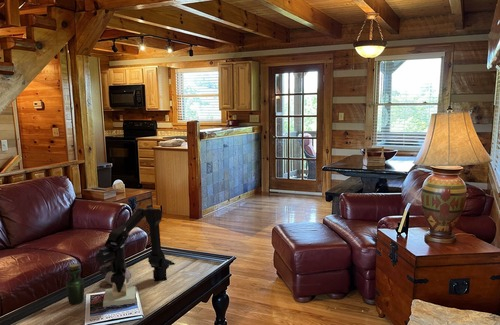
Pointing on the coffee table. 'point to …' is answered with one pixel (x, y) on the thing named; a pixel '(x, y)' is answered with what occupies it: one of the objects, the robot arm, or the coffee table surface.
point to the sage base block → (119, 300)
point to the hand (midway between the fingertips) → (119, 288)
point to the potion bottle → (75, 285)
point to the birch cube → (123, 290)
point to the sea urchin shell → (108, 275)
